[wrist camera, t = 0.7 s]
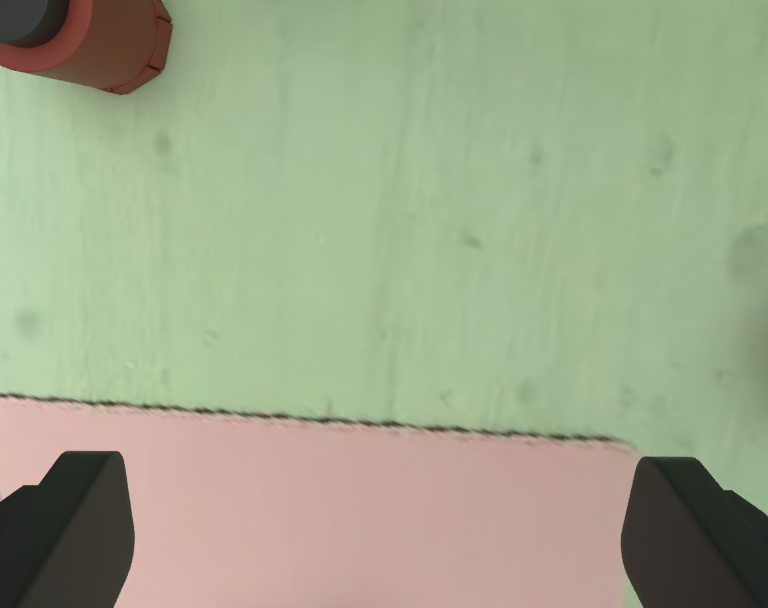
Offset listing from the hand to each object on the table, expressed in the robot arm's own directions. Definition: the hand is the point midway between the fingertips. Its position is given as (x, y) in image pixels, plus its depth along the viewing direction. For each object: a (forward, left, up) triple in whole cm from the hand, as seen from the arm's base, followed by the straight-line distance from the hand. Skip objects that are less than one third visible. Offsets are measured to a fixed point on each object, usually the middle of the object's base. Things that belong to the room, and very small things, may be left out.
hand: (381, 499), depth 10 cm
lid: (-7, -20, -27) cm, 34 cm away
